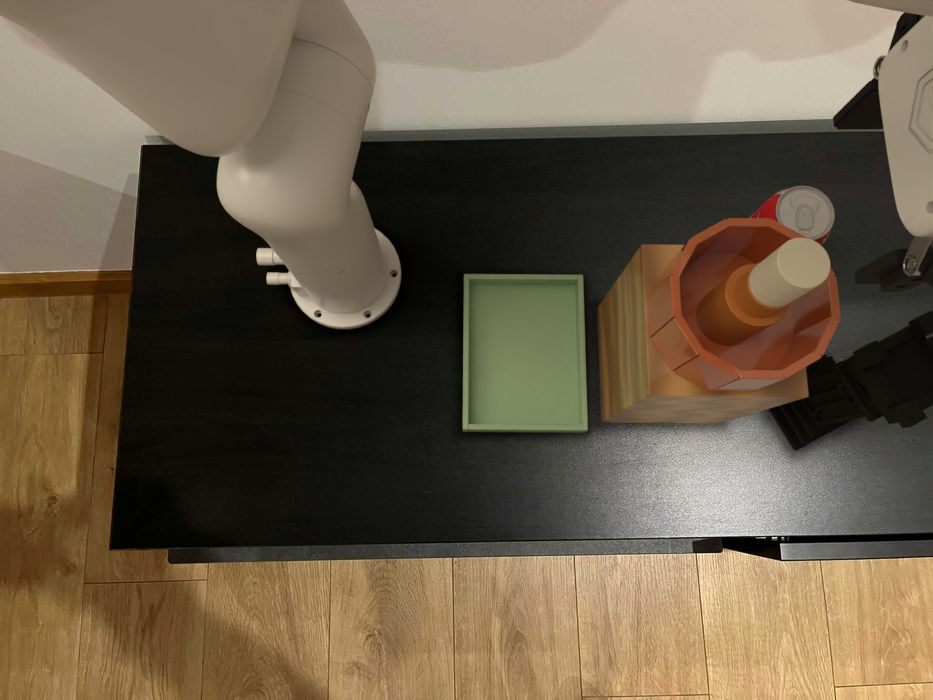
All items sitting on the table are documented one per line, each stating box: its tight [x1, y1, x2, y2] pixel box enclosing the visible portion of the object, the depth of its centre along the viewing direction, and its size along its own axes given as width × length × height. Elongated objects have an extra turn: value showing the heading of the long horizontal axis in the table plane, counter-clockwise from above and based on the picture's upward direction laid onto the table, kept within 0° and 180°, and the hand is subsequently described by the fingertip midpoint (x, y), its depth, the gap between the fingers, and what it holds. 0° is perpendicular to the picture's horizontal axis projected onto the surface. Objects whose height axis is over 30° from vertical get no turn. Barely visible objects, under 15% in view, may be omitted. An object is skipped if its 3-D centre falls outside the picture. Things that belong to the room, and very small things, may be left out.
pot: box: [648, 217, 842, 393], centre depth 54 cm, size 12×12×6 cm
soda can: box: [748, 185, 836, 246], centre depth 74 cm, size 7×7×12 cm
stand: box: [596, 244, 809, 424], centre depth 67 cm, size 13×13×20 cm
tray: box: [462, 273, 589, 434], centre depth 76 cm, size 13×17×2 cm
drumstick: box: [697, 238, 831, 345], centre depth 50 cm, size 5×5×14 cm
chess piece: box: [768, 309, 933, 452], centre depth 66 cm, size 8×8×20 cm
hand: (868, 199), depth 41 cm, fingers open, 9 cm apart
